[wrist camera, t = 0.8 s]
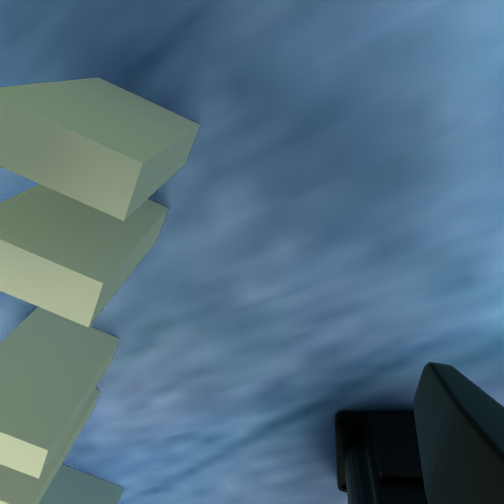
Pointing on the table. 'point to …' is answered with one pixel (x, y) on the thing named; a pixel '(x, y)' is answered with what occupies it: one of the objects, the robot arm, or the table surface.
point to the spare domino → (80, 489)
